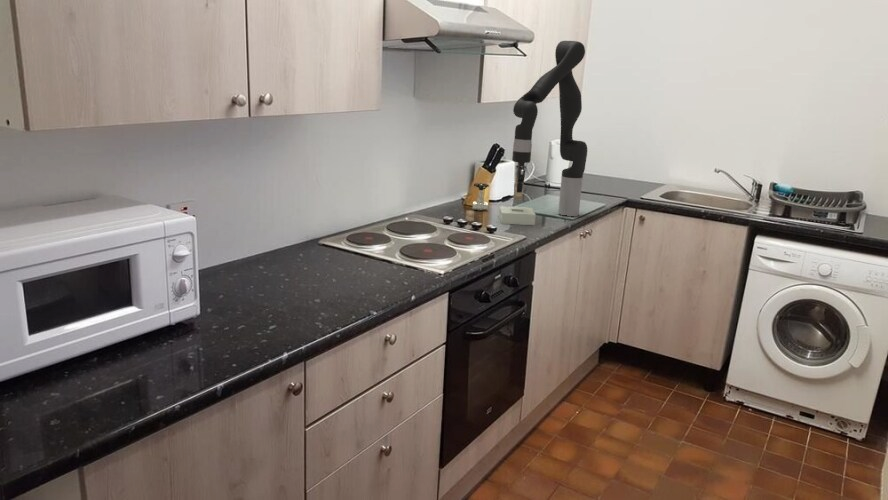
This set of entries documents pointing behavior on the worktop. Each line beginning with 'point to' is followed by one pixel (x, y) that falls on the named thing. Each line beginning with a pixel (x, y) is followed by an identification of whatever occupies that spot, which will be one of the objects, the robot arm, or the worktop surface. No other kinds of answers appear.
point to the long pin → (517, 194)
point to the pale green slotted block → (517, 215)
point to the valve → (480, 198)
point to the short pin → (469, 215)
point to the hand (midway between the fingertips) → (518, 191)
